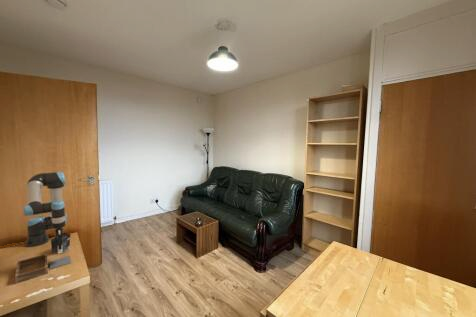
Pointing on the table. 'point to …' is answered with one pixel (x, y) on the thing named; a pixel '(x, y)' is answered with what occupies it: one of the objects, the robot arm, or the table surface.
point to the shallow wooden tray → (33, 273)
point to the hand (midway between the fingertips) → (59, 250)
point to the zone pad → (60, 262)
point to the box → (55, 242)
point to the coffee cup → (67, 239)
